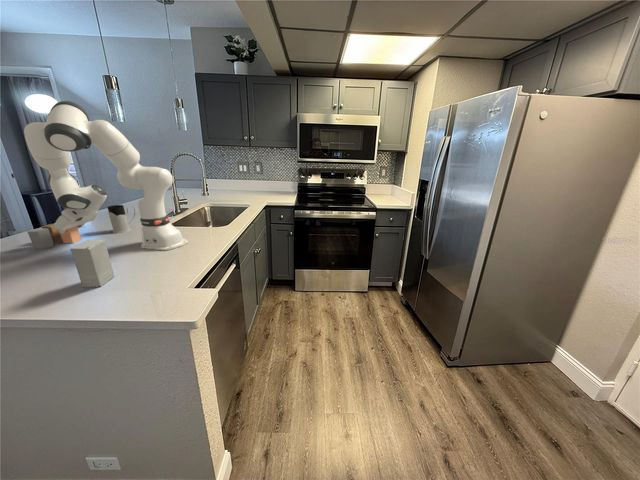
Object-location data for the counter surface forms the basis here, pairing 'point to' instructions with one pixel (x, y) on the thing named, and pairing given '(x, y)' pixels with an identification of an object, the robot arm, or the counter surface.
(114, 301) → the counter surface
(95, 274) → the skincare box
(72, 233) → the terracotta block
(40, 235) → the grey block
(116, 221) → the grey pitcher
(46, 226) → the walnut block
